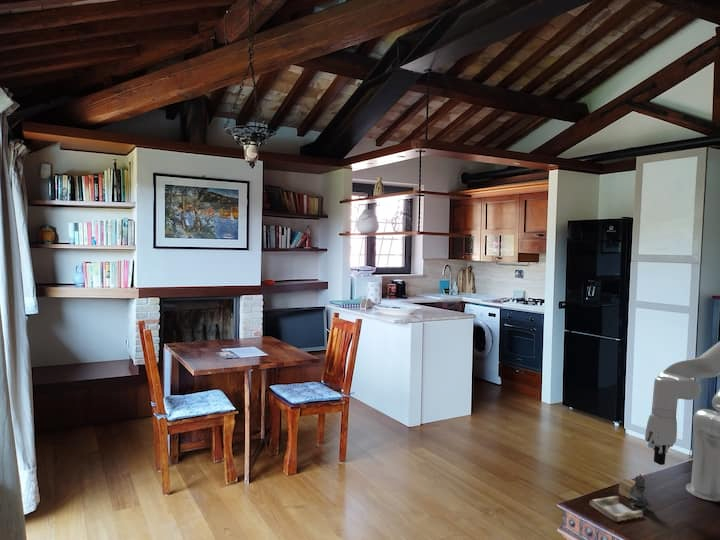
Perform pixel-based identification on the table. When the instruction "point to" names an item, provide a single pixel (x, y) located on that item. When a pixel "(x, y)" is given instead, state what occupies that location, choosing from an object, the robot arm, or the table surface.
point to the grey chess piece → (638, 494)
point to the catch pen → (614, 509)
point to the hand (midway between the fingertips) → (659, 463)
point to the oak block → (626, 487)
